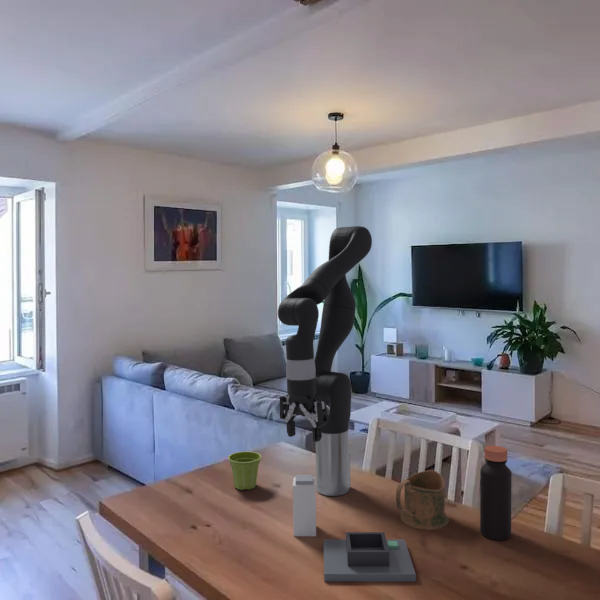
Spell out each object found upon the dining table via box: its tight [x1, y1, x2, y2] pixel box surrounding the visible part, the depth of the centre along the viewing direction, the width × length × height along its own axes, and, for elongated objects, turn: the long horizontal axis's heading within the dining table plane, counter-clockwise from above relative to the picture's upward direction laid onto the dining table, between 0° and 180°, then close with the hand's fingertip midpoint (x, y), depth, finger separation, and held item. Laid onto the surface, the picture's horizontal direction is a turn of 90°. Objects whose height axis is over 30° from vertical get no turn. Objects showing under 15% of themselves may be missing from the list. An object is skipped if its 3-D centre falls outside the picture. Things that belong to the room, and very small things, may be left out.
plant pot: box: [227, 451, 262, 491], centre depth 157 cm, size 9×9×9 cm
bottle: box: [479, 445, 512, 541], centre depth 127 cm, size 7×7×20 cm
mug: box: [395, 469, 450, 531], centre depth 133 cm, size 12×18×12 cm, turn 137°
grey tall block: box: [292, 474, 317, 537], centre depth 130 cm, size 5×5×13 cm
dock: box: [323, 531, 417, 583], centre depth 115 cm, size 18×14×4 cm
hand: (304, 438), depth 141 cm, fingers open, 8 cm apart
